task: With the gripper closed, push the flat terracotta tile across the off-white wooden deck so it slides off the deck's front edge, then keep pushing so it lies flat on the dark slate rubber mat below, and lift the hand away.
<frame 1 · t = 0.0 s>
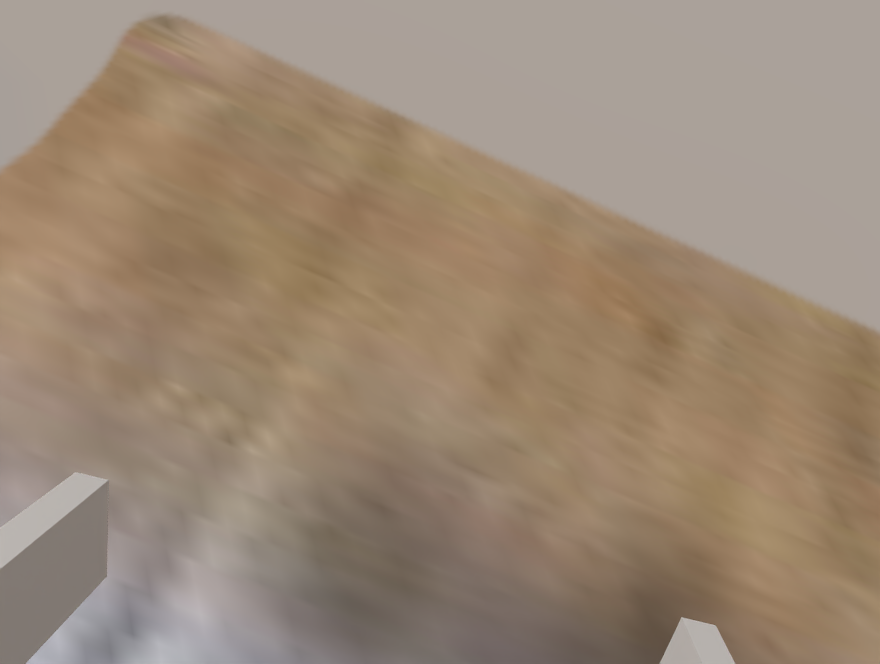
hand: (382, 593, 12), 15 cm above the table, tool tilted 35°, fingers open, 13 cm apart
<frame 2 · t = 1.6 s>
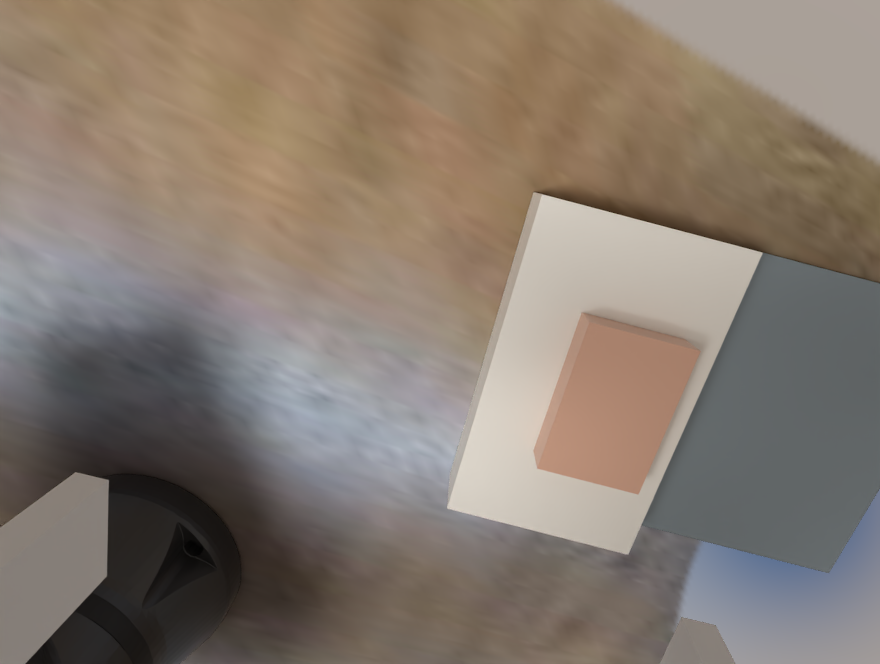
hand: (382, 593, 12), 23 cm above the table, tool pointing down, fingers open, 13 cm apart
deck: (576, 368, 34), on the table
tile: (606, 397, 30), point 4 cm above the table, touching deck
mat: (781, 421, 34), on the table
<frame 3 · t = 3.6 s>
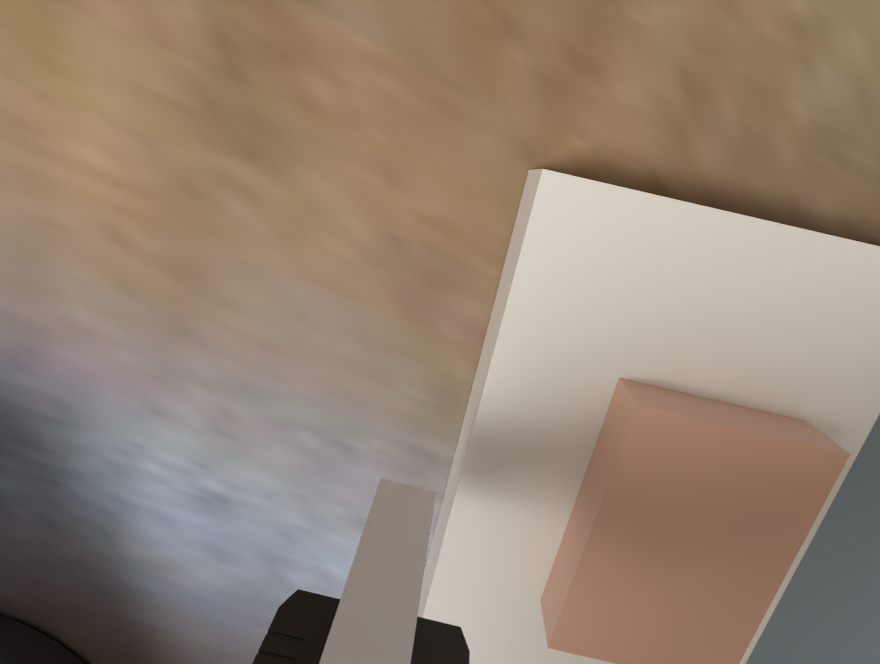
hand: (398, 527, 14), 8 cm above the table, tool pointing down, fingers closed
deck: (605, 450, 21), on the table
tile: (662, 517, 17), point 4 cm above the table, touching deck
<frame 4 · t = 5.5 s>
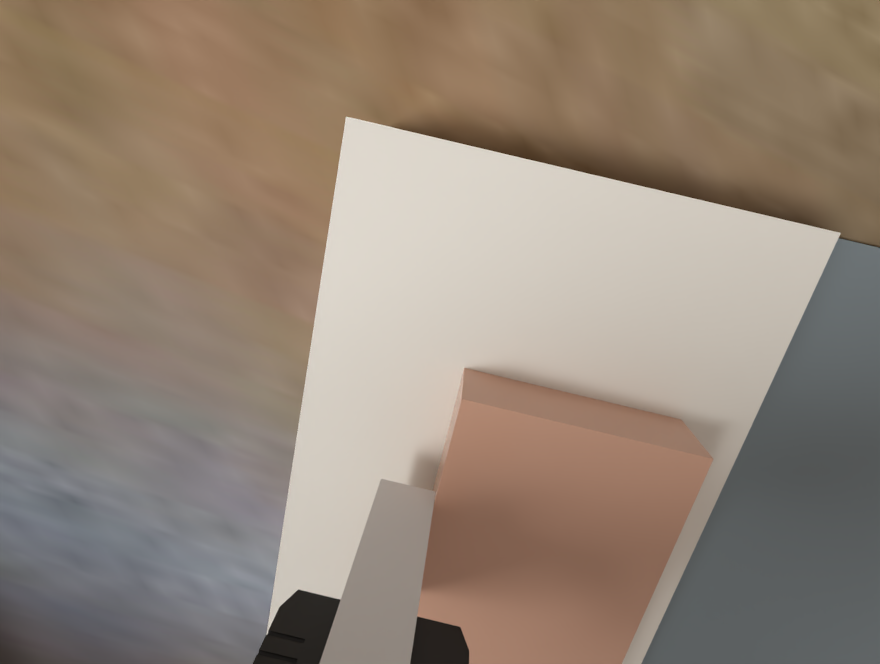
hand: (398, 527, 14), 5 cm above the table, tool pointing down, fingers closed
deck: (486, 450, 19), on the table
tile: (527, 528, 15), point 4 cm above the table, touching deck, gripper
mat: (856, 538, 19), on the table
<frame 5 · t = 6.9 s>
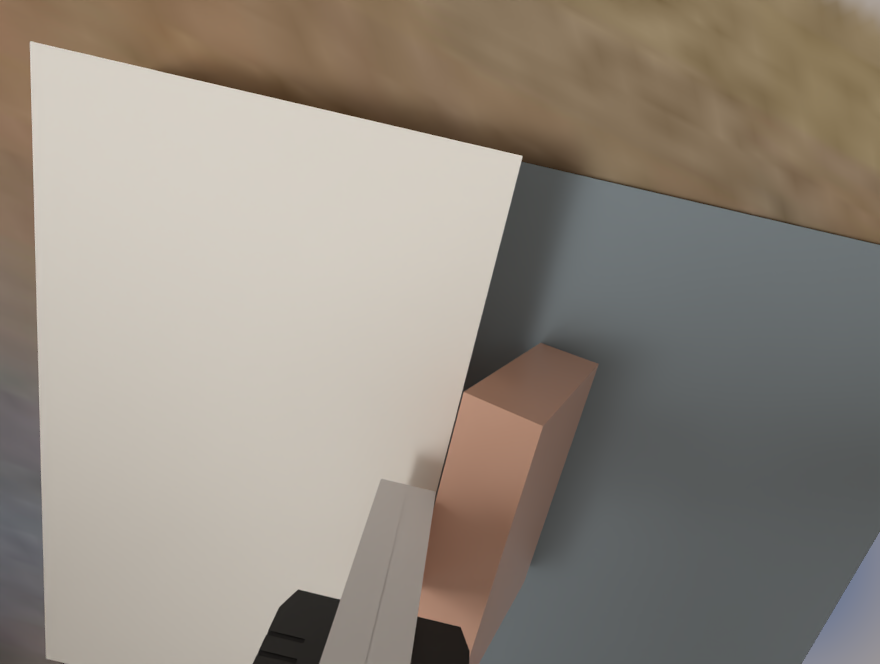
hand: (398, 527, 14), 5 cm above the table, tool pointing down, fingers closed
deck: (284, 401, 19), on the table
tile: (471, 493, 16), point 3 cm above the table, tilted 66°, touching mat
mat: (653, 488, 19), on the table
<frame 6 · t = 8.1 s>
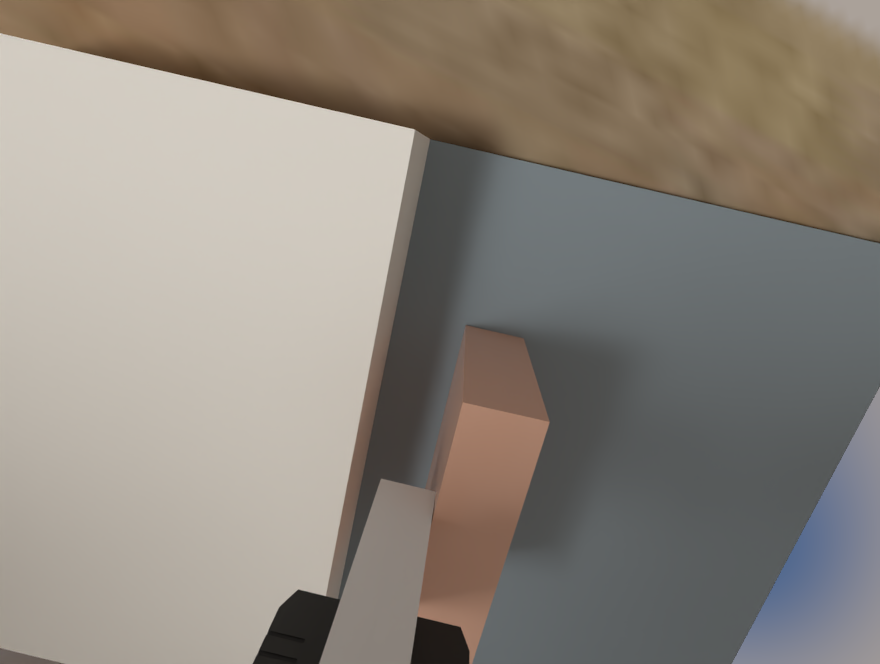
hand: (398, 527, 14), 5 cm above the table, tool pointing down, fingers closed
deck: (216, 385, 19), on the table
tile: (430, 490, 16), point 3 cm above the table, tilted 91°, touching gripper, mat
mat: (585, 472, 19), on the table
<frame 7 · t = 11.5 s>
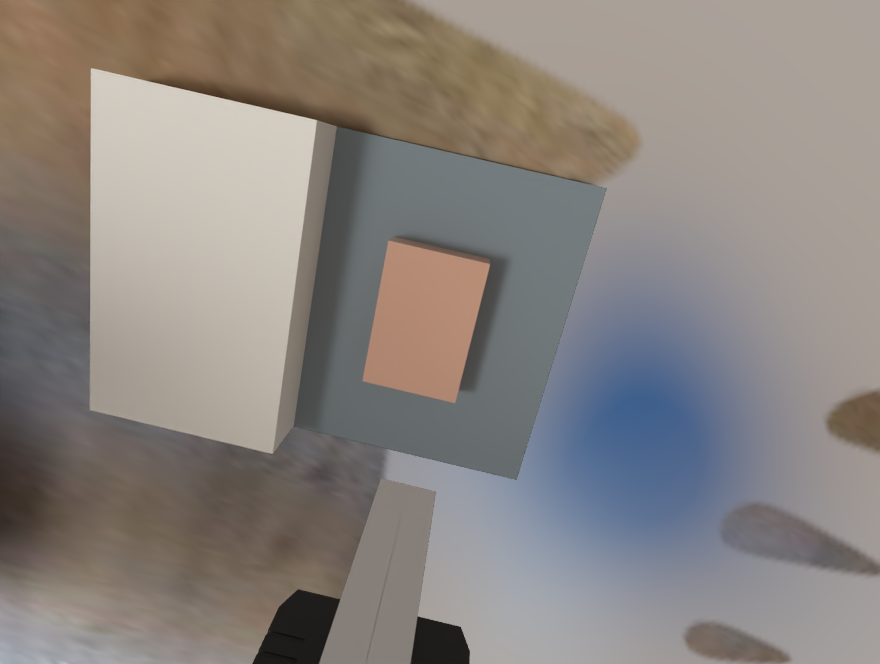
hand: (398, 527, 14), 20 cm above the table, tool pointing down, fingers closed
deck: (224, 268, 33), on the table
tile: (423, 325, 31), point 2 cm above the table, tilted 180°, touching mat
mat: (435, 317, 33), on the table
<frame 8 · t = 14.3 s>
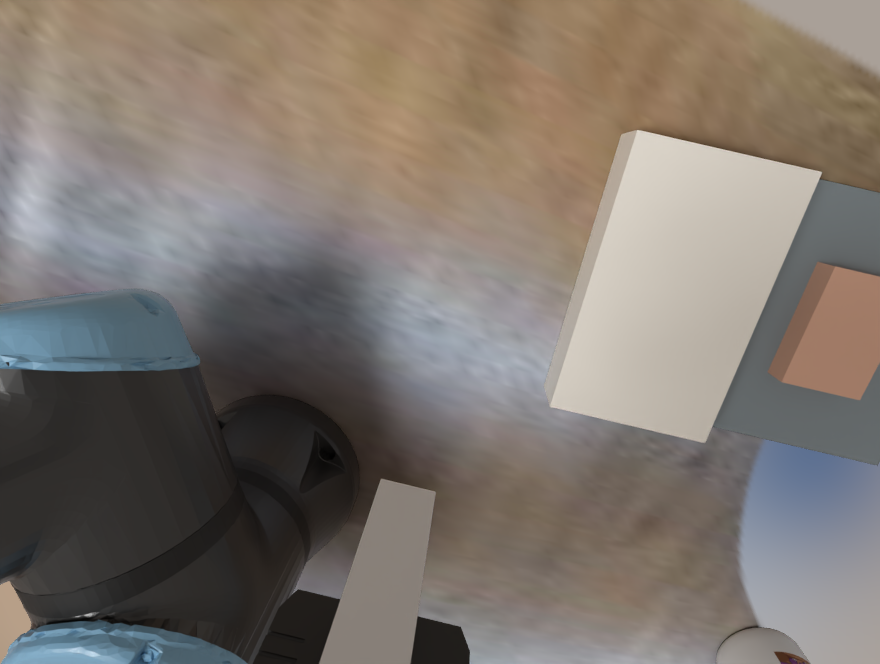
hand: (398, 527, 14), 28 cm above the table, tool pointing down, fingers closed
deck: (655, 287, 39), on the table
tile: (848, 335, 37), point 2 cm above the table, tilted 180°, touching mat
milk bottle: (754, 654, 49), on the table
mat: (834, 328, 39), on the table
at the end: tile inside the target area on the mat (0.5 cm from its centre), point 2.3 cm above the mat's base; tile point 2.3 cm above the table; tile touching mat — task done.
